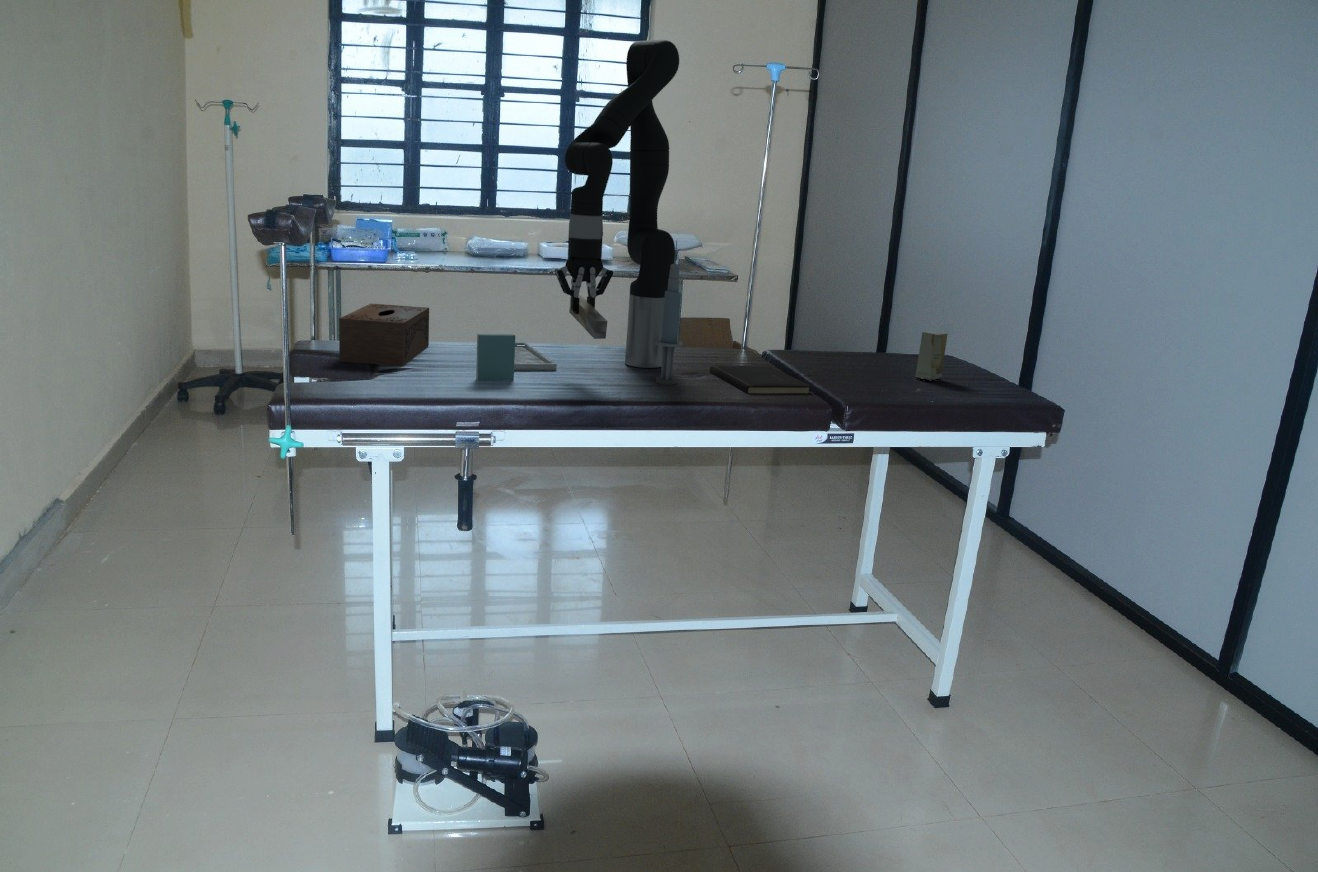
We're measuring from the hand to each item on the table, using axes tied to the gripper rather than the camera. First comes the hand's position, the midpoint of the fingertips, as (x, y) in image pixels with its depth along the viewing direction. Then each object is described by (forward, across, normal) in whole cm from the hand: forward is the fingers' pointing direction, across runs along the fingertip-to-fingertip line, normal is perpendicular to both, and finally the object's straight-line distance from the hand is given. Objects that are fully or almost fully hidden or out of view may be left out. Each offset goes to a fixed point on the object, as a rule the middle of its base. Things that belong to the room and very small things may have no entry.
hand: (582, 313), depth 230 cm
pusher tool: (+2, 0, +3) cm, 4 cm away
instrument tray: (+14, +9, -20) cm, 26 cm away
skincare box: (+16, -91, +9) cm, 93 cm away
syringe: (+15, -18, +8) cm, 25 cm away
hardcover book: (+16, -42, +9) cm, 45 cm away
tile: (+14, +21, +3) cm, 25 cm away
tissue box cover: (+14, +39, -27) cm, 50 cm away
